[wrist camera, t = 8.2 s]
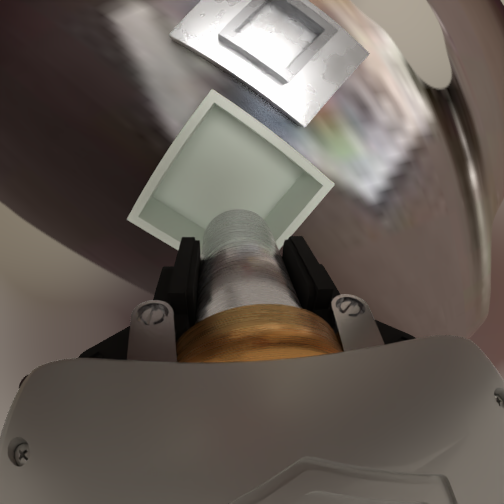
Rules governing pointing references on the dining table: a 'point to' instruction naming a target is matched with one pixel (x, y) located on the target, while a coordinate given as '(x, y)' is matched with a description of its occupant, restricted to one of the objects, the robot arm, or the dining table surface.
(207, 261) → the copper-capped metal peg
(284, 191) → the bin
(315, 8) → the white base with recess
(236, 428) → the robot arm
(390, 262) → the dining table surface
